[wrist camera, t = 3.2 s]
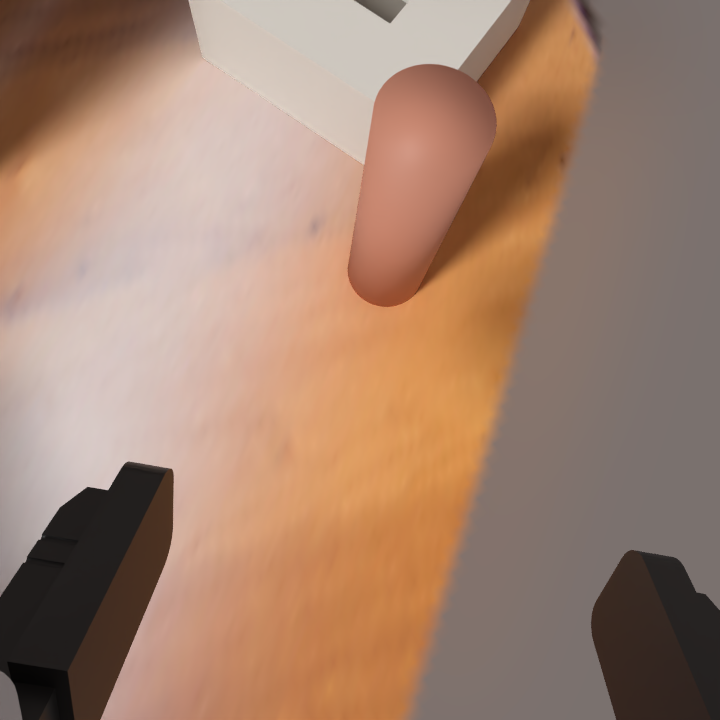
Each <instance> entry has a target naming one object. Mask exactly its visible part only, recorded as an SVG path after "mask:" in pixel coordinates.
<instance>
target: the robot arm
mask: <svg viewBox="0 0 720 720" xmlns="http://www.w3.org/2000/svg"><path fill="white" fill-rule="evenodd" d="M173 483H174V475H173V470H172V469H169V468H163V467H158V466H152V465H146V464H140V463H134V462H127V463H125V464H124V465H123V467H122V468H121V470H120V471H119V473H118V475H117V477H116V478H115V480H114V482H113V483H112V485H111V487H110V488H109V490H103V489H97V488H91V487H87V488H86V489H84V490H83V491H82V492H80V493H79V494H78V495H76V496H75V497H73V498H72V499H71V500H69V501H68V502H67V503H65V504H64V505H63V506H61V507H60V508H59V510H58V511H57V513H56V514H55V516H54V517H53V519H52V520H51V522H50V523H49V525H48V526H47V528H46V529H45V531H44V532H43V534H42V538H41V540H38V541H37V543H36V544H35V546H34V547H33V549H32V550H31V552H30V553H29V555H28V556H27V560H26V562H25V563H23V564H22V565H21V567H20V568H19V570H18V571H17V573H16V574H15V576H14V577H13V579H12V580H11V582H10V583H9V585H8V586H7V588H6V589H5V591H4V592H3V594H2V595H1V597H0V720H100V719H101V717H102V714H103V712H104V709H105V707H106V705H107V702H108V700H109V697H110V695H111V693H112V690H113V688H114V685H115V683H116V681H117V678H118V676H119V673H120V671H121V669H122V666H123V664H124V661H125V659H126V657H127V654H128V652H129V649H130V647H131V645H132V642H133V640H134V637H135V635H136V633H137V630H138V628H139V625H140V623H141V621H142V618H143V616H144V613H145V611H146V609H147V606H148V604H149V601H150V599H151V597H152V594H153V592H154V589H155V587H156V585H157V582H158V580H159V577H160V575H161V573H162V570H163V568H164V565H165V562H166V560H167V556H168V553H169V549H170V545H171V539H172V532H173ZM591 628H592V637H593V641H594V645H595V648H596V651H597V655H598V658H599V662H600V665H601V669H602V672H603V675H604V679H605V682H606V686H607V689H608V692H609V696H610V699H611V703H612V706H613V710H614V713H615V716H616V720H720V610H719V609H718V608H717V607H716V606H715V605H714V604H713V602H712V601H711V600H710V599H709V598H708V597H707V596H706V595H705V594H701V593H696V591H695V589H694V587H693V585H692V583H691V580H690V578H689V576H688V574H687V572H686V570H685V568H684V566H683V565H682V563H681V562H680V561H679V560H678V559H676V558H674V557H669V556H663V555H658V554H652V553H645V552H640V551H634V550H630V551H628V552H627V553H626V554H624V556H623V557H622V559H621V561H620V562H619V564H618V566H617V567H616V569H615V571H614V572H613V574H612V576H611V577H610V579H609V581H608V583H607V584H606V586H605V587H604V589H603V591H602V592H601V594H600V596H599V597H598V599H597V601H596V603H595V605H594V608H593V612H592V620H591Z"/></svg>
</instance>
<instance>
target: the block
mask: <svg viewBox="0 0 720 720" xmlns="http://www.w3.org/2000/svg"><path fill="white" fill-rule="evenodd" d="M188 1H189V5H190V9H191V13H192V17H193V21H194V25H195V29H196V33H197V37H198V41H199V45H200V50H201V54H202V58H203V59H205V60H206V61H208V62H209V63H211V64H212V65H214V66H215V67H217V68H218V69H220V70H221V71H223V72H224V73H226V74H227V75H229V76H230V77H232V78H233V79H235V80H236V81H238V82H239V83H241V84H242V85H244V86H245V87H247V88H248V89H250V90H251V91H253V92H254V93H256V94H257V95H259V96H260V97H262V98H263V99H265V100H267V101H268V102H270V103H271V104H273V105H274V106H276V107H277V108H279V109H280V110H282V111H283V112H285V113H286V114H288V115H289V116H291V117H292V118H294V119H295V120H297V121H298V122H300V123H301V124H303V125H304V126H306V127H307V128H309V129H310V130H312V131H313V132H315V133H316V134H318V135H319V136H321V137H322V138H324V139H325V140H327V141H328V142H330V143H331V144H333V145H334V146H336V147H337V148H339V149H340V150H342V151H343V152H345V153H346V154H348V155H349V156H351V157H352V158H354V159H355V160H357V161H358V162H360V163H361V164H363V165H364V164H365V157H366V151H367V145H368V138H369V132H370V126H371V120H372V113H373V107H374V102H375V99H376V96H377V94H378V92H379V90H380V89H381V87H382V86H383V84H384V83H385V82H386V81H387V80H388V79H389V78H391V77H392V76H393V75H394V74H396V73H398V72H399V71H401V70H403V69H406V68H408V67H411V66H415V65H421V64H439V65H444V66H448V67H452V68H455V69H457V70H459V71H461V72H463V73H465V74H467V75H468V76H470V77H471V78H472V79H474V80H475V81H476V82H477V81H478V79H479V78H480V77H481V75H482V74H483V73H484V71H485V70H486V69H487V68H488V66H489V65H490V64H491V62H492V61H493V60H494V58H495V57H496V56H497V54H498V53H499V52H500V50H501V49H502V48H503V46H504V45H505V44H506V42H507V41H508V40H509V38H510V37H511V36H512V34H513V33H514V32H515V31H516V29H517V28H518V27H519V25H520V22H521V20H522V18H523V15H524V13H525V11H526V9H527V6H528V4H529V2H530V0H188Z"/></svg>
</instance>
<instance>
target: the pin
mask: <svg viewBox="0 0 720 720" xmlns="http://www.w3.org/2000/svg"><path fill="white" fill-rule="evenodd" d="M496 126H497V124H496V114H495V110H494V107H493V104H492V102H491V100H490V98H489V96H488V95H487V93H486V92H485V90H484V89H483V88H482V87H481V86H480V85H479V84H478V83H477V82H476V81H475V80H474V79H472V78H471V77H470V76H468V75H467V74H465V73H463V72H461V71H459V70H457V69H455V68H452V67H448V66H444V65H439V64H421V65H415V66H411V67H408V68H406V69H403V70H401V71H399V72H398V73H396V74H394V75H393V76H392V77H391V78H389V79H388V80H387V81H386V82H385V83H384V84H383V86H382V87H381V89H380V90H379V92H378V94H377V96H376V99H375V102H374V107H373V113H372V120H371V126H370V132H369V138H368V145H367V151H366V157H365V164H364V170H363V176H362V182H361V189H360V195H359V201H358V207H357V214H356V220H355V226H354V232H353V239H352V245H351V251H350V257H349V264H348V277H349V280H350V283H351V285H352V287H353V289H354V290H355V292H356V293H357V294H358V295H359V296H360V297H361V298H363V299H364V300H365V301H367V302H369V303H371V304H374V305H377V306H383V307H390V306H396V305H399V304H402V303H404V302H406V301H407V300H409V299H410V298H411V297H412V296H413V295H414V294H415V293H416V291H417V290H418V288H419V286H420V284H421V282H422V280H423V278H424V277H425V275H426V273H427V271H428V269H429V267H430V265H431V263H432V261H433V259H434V257H435V255H436V253H437V251H438V249H439V247H440V245H441V243H442V241H443V239H444V237H445V236H446V234H447V232H448V230H449V228H450V226H451V224H452V222H453V220H454V218H455V216H456V214H457V212H458V210H459V208H460V206H461V204H462V202H463V200H464V198H465V196H466V194H467V193H468V191H469V189H470V187H471V185H472V183H473V181H474V179H475V177H476V175H477V173H478V171H479V169H480V167H481V165H482V163H483V161H484V159H485V157H486V155H487V153H488V152H489V150H490V148H491V146H492V143H493V141H494V138H495V134H496Z"/></svg>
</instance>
